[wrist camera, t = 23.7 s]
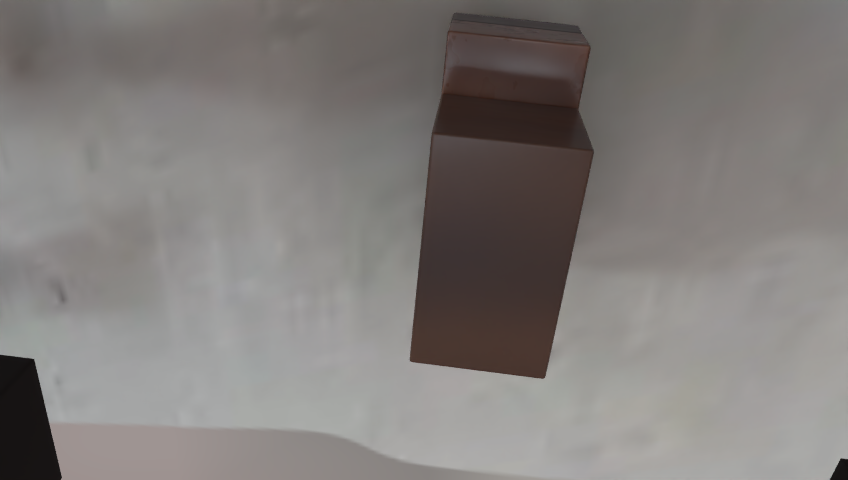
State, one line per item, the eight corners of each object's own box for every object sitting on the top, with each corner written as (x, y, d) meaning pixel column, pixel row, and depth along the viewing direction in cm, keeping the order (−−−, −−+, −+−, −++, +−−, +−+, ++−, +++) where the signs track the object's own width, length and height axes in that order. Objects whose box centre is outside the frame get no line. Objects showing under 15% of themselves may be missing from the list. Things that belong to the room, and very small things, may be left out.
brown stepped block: (453, 12, 25) (438, 59, 18) (579, 25, 24) (610, 78, 18) (424, 293, 30) (404, 409, 24) (525, 306, 30) (535, 425, 23)
